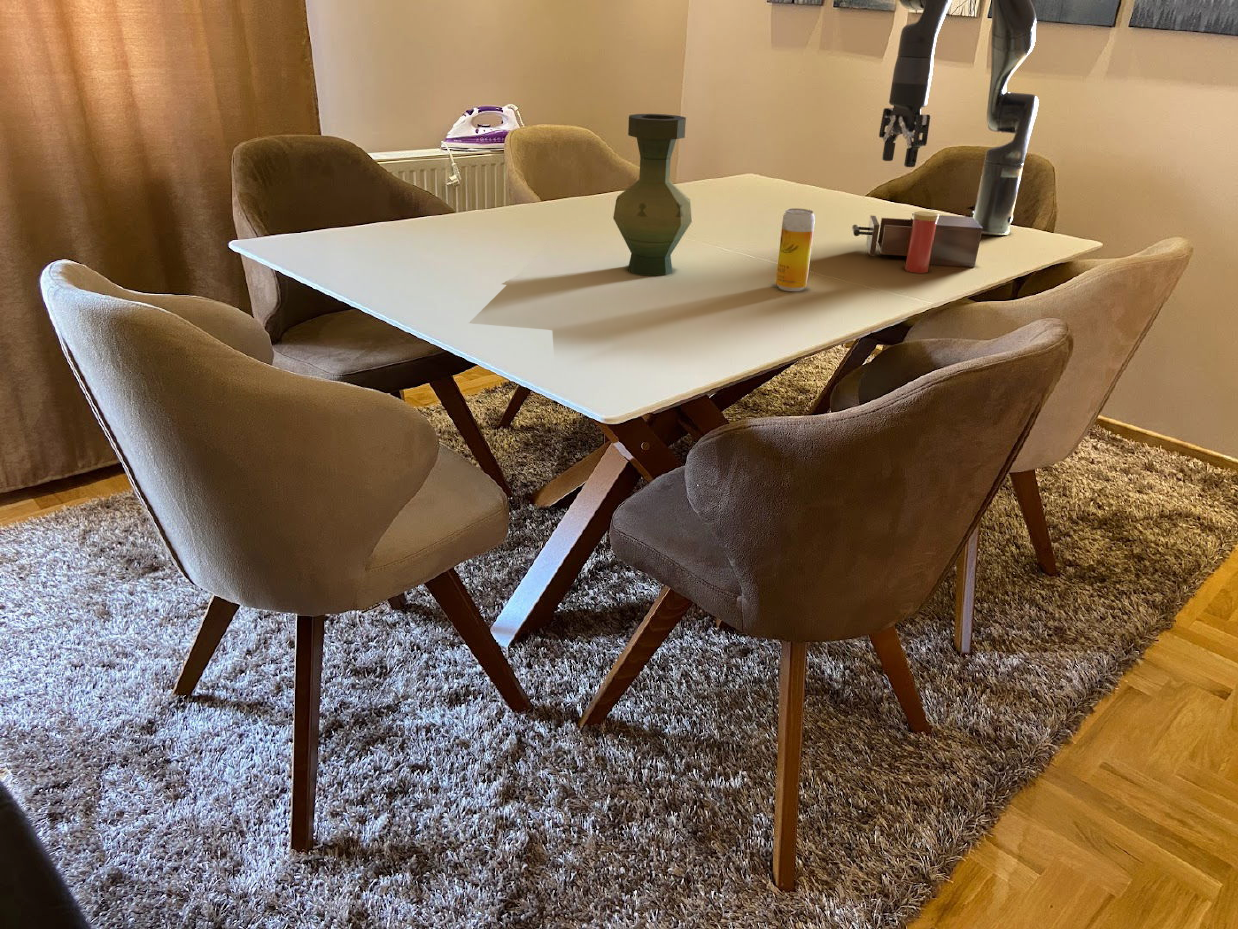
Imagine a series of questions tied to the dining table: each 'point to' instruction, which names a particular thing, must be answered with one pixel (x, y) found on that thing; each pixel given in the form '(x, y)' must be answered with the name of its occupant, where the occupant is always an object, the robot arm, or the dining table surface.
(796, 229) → the beer can
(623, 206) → the vase
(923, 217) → the tea tin
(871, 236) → the drawer
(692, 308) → the dining table surface
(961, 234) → the cabinet
